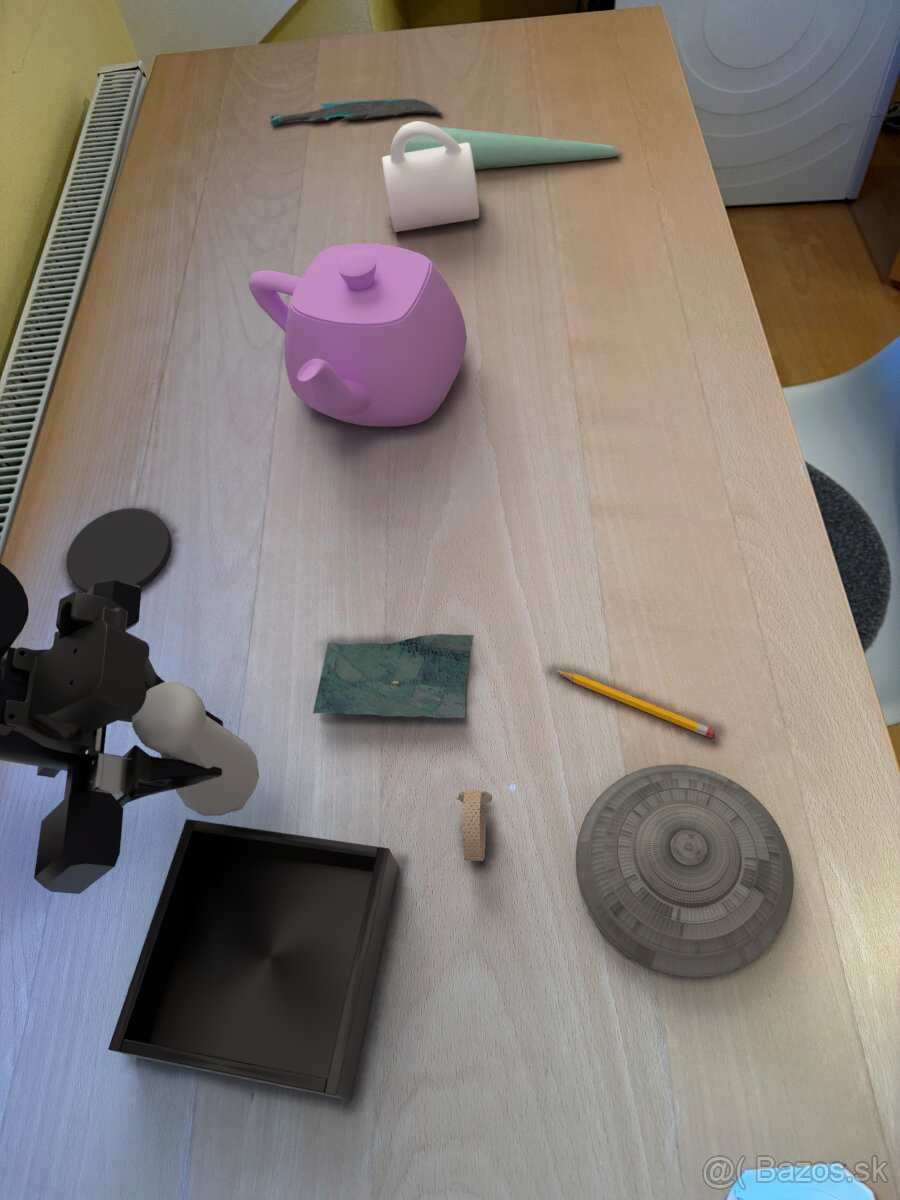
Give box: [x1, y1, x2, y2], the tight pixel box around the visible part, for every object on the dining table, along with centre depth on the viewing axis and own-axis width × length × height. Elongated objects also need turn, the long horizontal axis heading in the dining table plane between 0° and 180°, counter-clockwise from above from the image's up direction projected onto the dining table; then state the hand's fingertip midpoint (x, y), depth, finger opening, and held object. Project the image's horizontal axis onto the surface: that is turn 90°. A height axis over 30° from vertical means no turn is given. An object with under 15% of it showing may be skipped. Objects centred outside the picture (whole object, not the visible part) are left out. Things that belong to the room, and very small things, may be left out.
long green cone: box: [400, 124, 619, 171], centre depth 112 cm, size 5×6×27 cm
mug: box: [381, 120, 480, 233], centre depth 105 cm, size 8×10×12 cm
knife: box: [269, 98, 443, 127], centre depth 125 cm, size 24×1×5 cm
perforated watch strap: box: [455, 789, 493, 862], centre depth 66 cm, size 3×5×5 cm, turn 178°
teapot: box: [248, 243, 468, 427], centre depth 88 cm, size 23×21×15 cm
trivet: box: [66, 507, 172, 594], centre depth 87 cm, size 10×10×1 cm
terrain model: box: [312, 633, 474, 719], centre depth 75 cm, size 13×8×2 cm, turn 86°
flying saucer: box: [575, 764, 795, 978], centre depth 63 cm, size 15×15×6 cm
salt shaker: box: [131, 681, 260, 817], centre depth 60 cm, size 6×6×13 cm
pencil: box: [555, 670, 716, 739], centre depth 72 cm, size 1×13×1 cm, turn 62°
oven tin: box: [108, 818, 400, 1102], centre depth 63 cm, size 16×16×4 cm
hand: (220, 750), depth 60 cm, fingers closed on salt shaker, 3 cm apart
